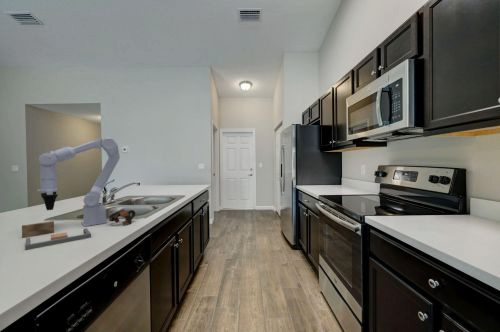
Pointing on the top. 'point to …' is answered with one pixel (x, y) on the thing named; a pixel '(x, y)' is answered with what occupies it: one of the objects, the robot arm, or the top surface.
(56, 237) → the tile
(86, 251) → the top surface
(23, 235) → the brown wooden board
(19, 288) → the top surface
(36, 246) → the bay
